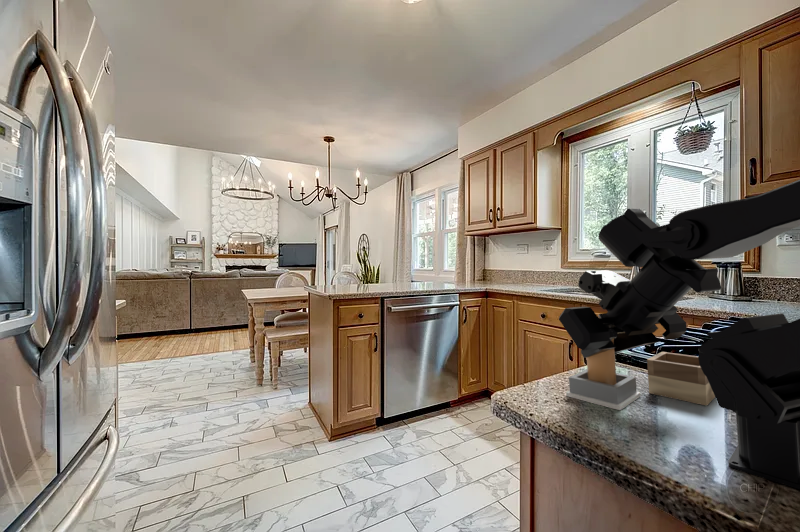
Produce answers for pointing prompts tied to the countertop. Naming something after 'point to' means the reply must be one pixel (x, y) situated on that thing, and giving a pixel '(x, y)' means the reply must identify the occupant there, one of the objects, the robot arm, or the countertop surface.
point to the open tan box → (678, 378)
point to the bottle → (602, 367)
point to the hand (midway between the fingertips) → (593, 353)
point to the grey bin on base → (604, 390)
